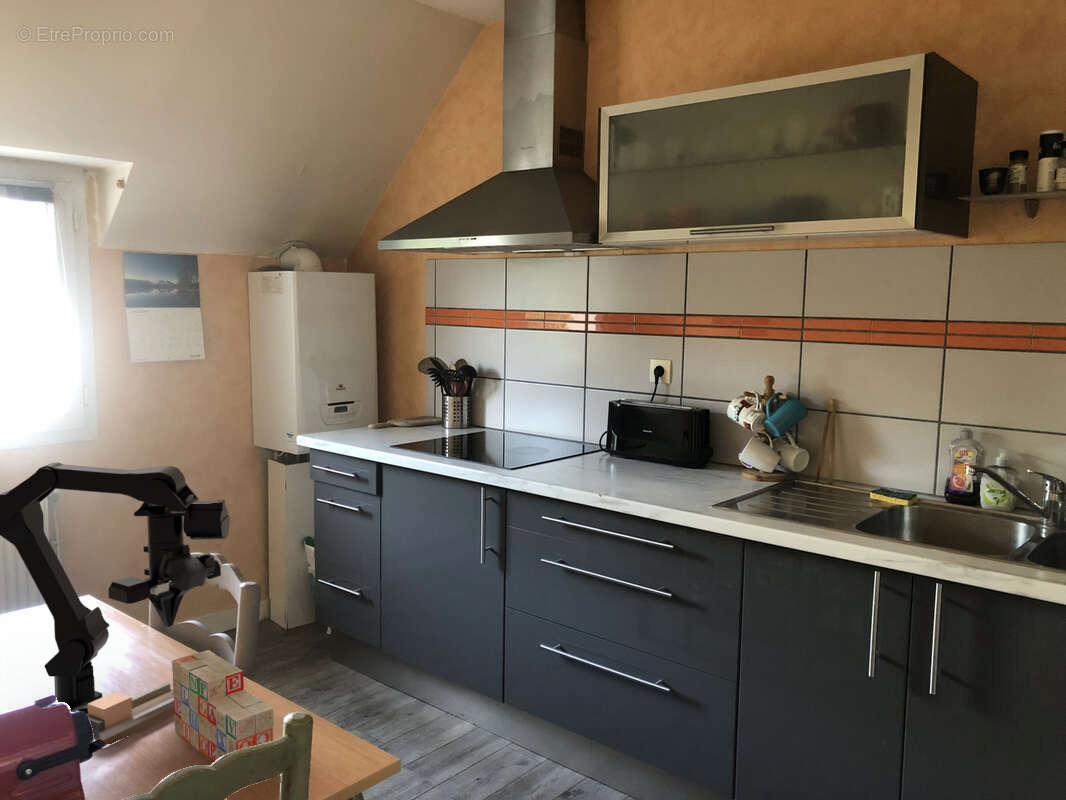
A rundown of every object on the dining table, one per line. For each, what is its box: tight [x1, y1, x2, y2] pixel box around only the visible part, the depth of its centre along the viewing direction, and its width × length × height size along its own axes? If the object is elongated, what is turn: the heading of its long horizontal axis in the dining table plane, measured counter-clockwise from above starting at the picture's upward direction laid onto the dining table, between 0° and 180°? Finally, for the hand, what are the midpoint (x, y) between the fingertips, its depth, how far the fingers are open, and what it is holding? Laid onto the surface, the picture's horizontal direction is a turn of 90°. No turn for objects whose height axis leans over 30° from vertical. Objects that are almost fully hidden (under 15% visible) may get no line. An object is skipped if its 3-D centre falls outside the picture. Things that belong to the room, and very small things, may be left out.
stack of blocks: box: [171, 649, 274, 762], centre depth 134 cm, size 21×6×12 cm, turn 46°
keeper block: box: [87, 691, 133, 730], centre depth 138 cm, size 4×5×4 cm
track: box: [85, 682, 175, 744], centre depth 142 cm, size 7×17×4 cm, turn 152°
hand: (168, 626), depth 150 cm, fingers closed
